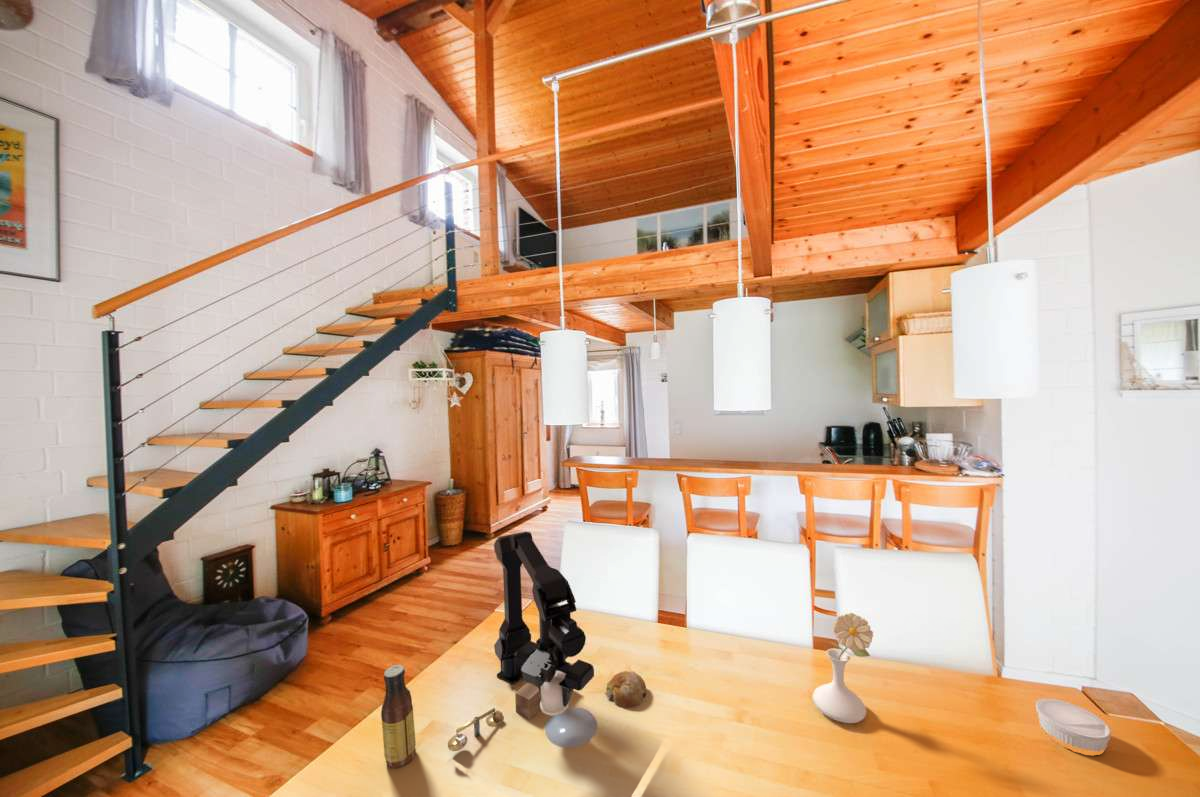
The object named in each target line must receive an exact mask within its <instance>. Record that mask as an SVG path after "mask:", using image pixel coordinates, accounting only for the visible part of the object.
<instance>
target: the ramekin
mask: <svg viewBox="0 0 1200 797" xmlns="http://www.w3.org/2000/svg"><path fill="white" fill-rule="evenodd" d="M1035 710H1036V712H1037V715H1038V721H1039V726H1040V725H1041V726H1040V728H1041V727H1042V728H1043V729H1044V730H1045V731H1046V732H1047V733H1048V734H1050V735H1052V736H1054V737H1055V738H1057V739H1058V740H1060V741H1062V742H1065V743H1067V744H1070V745H1072V746H1075V747H1078V748H1082V749H1086V750H1092V751H1101V750H1104V749H1105V748H1106V749H1107V746H1108V743H1109V741H1110V739H1111V737H1112V734H1111V733H1112V732H1111V729H1110V727H1109V726H1108V724H1107V723H1106V722H1105V721H1104V720H1103V719H1101V718H1100V717H1098V716H1097V715H1095V714H1094V713H1092V712H1090V711H1089V710H1087V709H1085V708H1083V707H1081V706H1078V705H1076V704H1073V703H1071V702H1067V701H1065V700H1060V699H1055V698H1040V699H1038V700H1036V703H1035Z"/></svg>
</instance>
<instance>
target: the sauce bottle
mask: <svg viewBox="0 0 1200 797" xmlns="http://www.w3.org/2000/svg"><path fill="white" fill-rule="evenodd" d="M405 674H406V670H405V666H404V665H402V664H395V665H392V666H390V667H388V668H387V669H386V670H385V671H384V674H383V680H384V682H385V684H384V685H385V695H384V700H383V703H382V706H381V713H380V718H381V727H382V741H383V754H384V759H385V763H386V765H387V766H388V767H390V766H391V767H390V768H393V767H398V768H400V767H401V766H404V765H406V764H408V763H409V762H410V761H411V760H412V759H413V758H414V756H415V755H416V745H417V743H416V732H415V731H416V729H415V720H414V718H415V717H414V706H413V701H412V700H413V699H412V694H411V691H410V690H409V688H407V686H406V684H405Z"/></svg>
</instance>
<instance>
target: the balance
mask: <svg viewBox="0 0 1200 797" xmlns="http://www.w3.org/2000/svg"><path fill="white" fill-rule="evenodd" d="M484 718H486V719H485V724H486V725H487V726H489V727H496V726H498V725H500V724H501V723H502V722H503V721H504V714H503V712H502V711H500V710H498V709H497V710H496V708H495V707H494V708H491V709H490V710H488V711H486V712H484V713H483V714H481V715H479V716H475V717H474V718H473V720H471V721H469V722H467V723H465V724H464V725H462V726H461V727H459V728H457V729H456V735H453V736H452V737H451V738H450V739H448V741H447V742H448V743H447V749H448V750H449V751H452V752H457V751H460V750H462V749H464V747H466V746H467V744H468V737H467V736H466V734H464V733H463V734H462V733H461V732H462V731H464V730H466V729H467V728H469V727H470V726H472V725H473V732H474V736H473V737H474V738H479V737H480V736H481V732H480V731H481V730H480V724H481V723H480V721H481V720H482V719H484Z"/></svg>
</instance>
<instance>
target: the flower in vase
mask: <svg viewBox="0 0 1200 797" xmlns="http://www.w3.org/2000/svg"><path fill="white" fill-rule="evenodd" d="M834 622H835V623H833V629H832V632H833V633H834V636H835V638H837V642H838V643H839V644H840V645H841V646H844V649H843V648H841V646H839V645H838V644H836V643H835V642H832V641H831V640H829V639H828V638H826V640H827V641H828V642H829V643H830V644H831V645H833V646H834V647H835V648H829V649H827V650H826V655H827V657H828V658H829V660H830V662H831V665H832V674H833V675H832V681H831V682H829V683H824V684H821V685H819V686H818V687H816V688H815V689H814V691H813V693H812V696H811V698H812V701H813V703H814V705H815V707H816V708H817V709H818V710H819V711H820V712H821V713H822V714H823V715H825V716H826V717H828V718H830V719H831V720H835V721H837V722H841V723H844V724H856V723H860V722H862V720H864V718H865V717H867V716H866V715H867V708H866V707H865V703H864V702H863V700H862V699H861V698H859V696H858V695H857V694H856V693H855V692H854V691H852V690H851V689H849V688H848V687H847V686H846V684H845V676H844V675H845V667H846V664H847V663H848V662H849V661H850V660H851V656H850V655H849V653H848V652H846V651H847V649H849V650H850V651H851V652H852V653H853V654H854V656H857V657H861V658H863V657H864V658H865V657H870V656H871V654H870V653H869V652H868V651H867V649H869V648H870V646H871V644H872V641H873V638H874V631H873V630H871V626H870V625H869V622H868V620H866V619H865V618H864V617H862V616H860V615H858V614H857V615H856V614H855V613H853V612H849V613H843V614H841V615H838V616H837V618H836V621H834Z"/></svg>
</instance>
